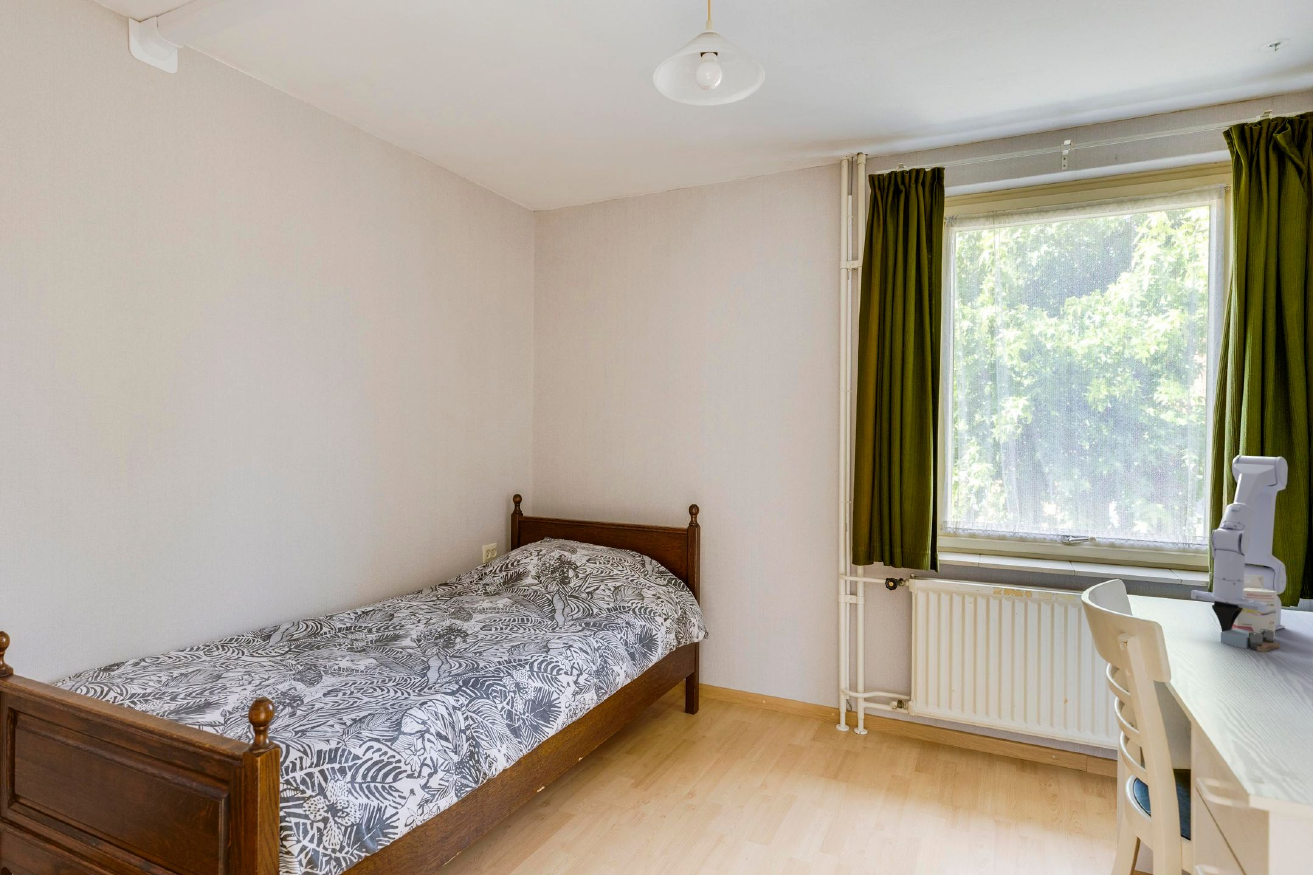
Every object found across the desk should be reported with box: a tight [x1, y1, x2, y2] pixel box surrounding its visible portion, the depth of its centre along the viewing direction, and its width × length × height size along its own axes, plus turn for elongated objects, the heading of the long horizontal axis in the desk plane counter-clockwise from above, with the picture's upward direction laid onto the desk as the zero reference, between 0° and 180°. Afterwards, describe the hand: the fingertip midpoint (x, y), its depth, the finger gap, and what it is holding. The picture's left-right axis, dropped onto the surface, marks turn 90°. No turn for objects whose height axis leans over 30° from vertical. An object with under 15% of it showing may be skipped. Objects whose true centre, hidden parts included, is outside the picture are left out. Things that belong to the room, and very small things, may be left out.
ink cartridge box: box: [1232, 575, 1278, 640], centre depth 174 cm, size 9×5×15 cm, turn 84°
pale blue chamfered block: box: [1220, 628, 1260, 649], centre depth 168 cm, size 8×5×2 cm, turn 119°
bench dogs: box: [1247, 629, 1280, 653], centre depth 164 cm, size 8×3×4 cm, turn 120°
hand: (1226, 634), depth 171 cm, fingers closed
